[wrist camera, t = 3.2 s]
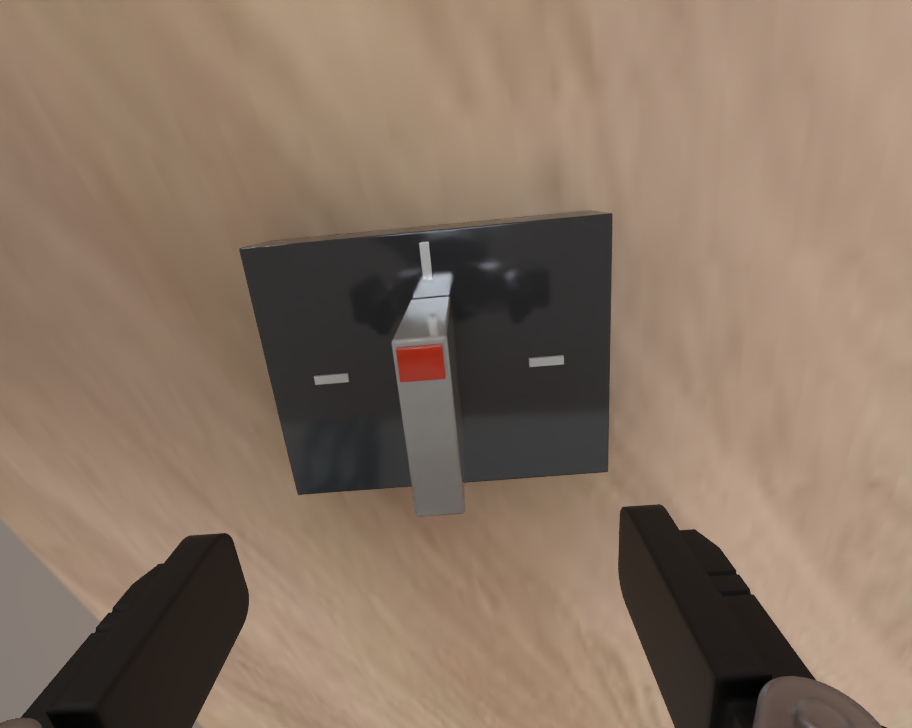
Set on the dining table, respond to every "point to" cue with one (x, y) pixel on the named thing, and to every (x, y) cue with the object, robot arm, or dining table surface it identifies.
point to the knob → (431, 406)
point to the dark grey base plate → (476, 340)
